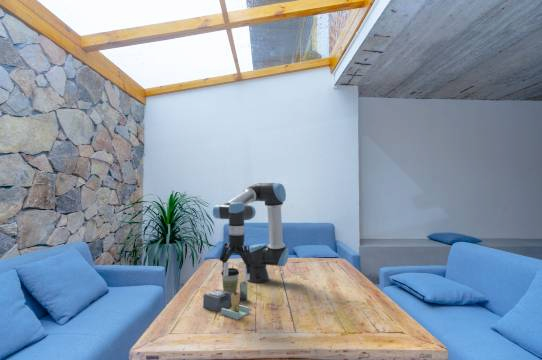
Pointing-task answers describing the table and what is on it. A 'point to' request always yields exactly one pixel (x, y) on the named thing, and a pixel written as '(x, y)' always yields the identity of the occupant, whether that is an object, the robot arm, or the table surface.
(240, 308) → the trough
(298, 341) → the table surface
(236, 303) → the cell
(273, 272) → the table surface
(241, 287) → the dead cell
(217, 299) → the cradle
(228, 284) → the coffee cup
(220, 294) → the plate
